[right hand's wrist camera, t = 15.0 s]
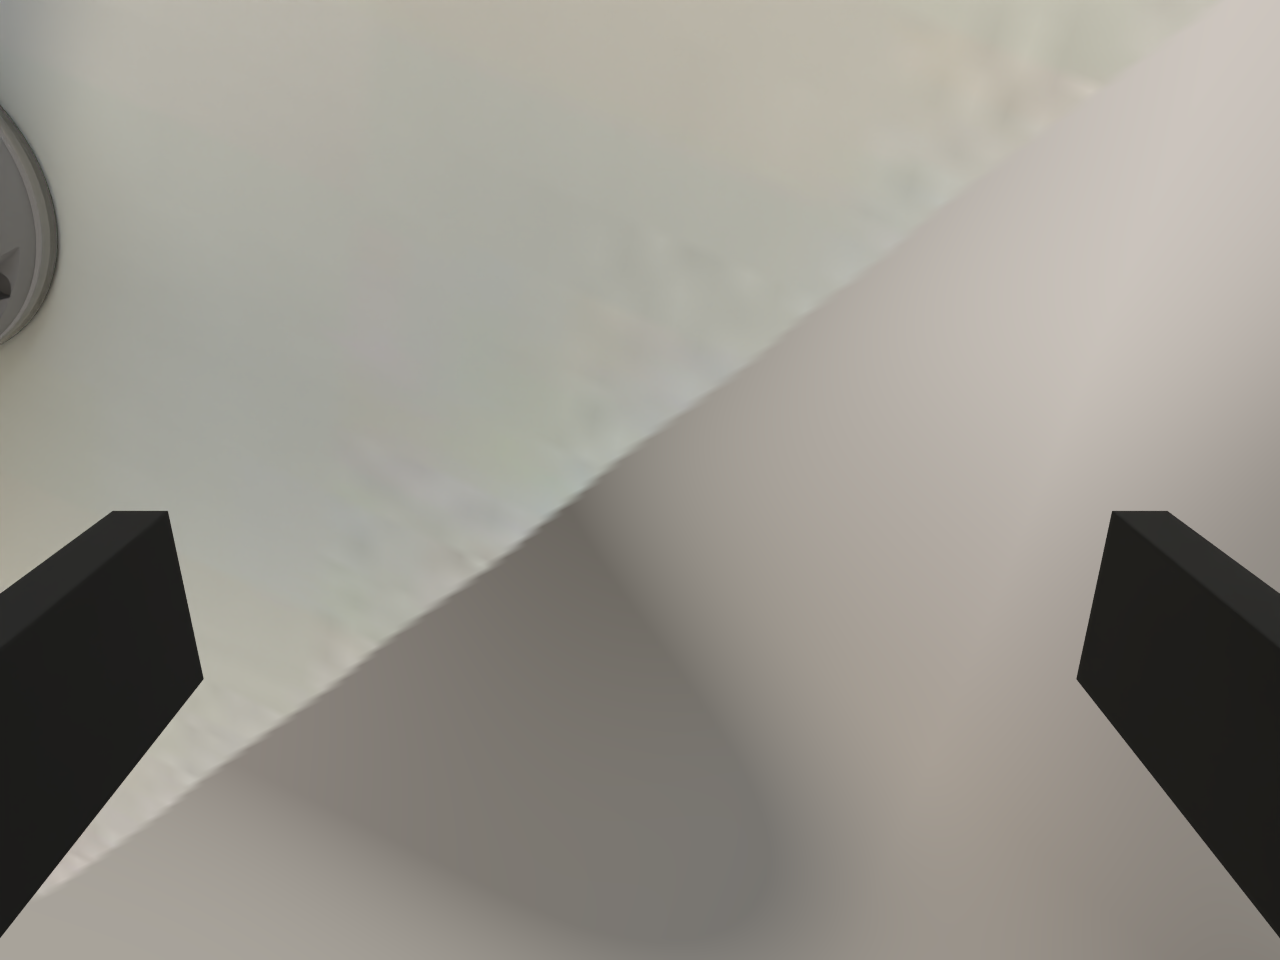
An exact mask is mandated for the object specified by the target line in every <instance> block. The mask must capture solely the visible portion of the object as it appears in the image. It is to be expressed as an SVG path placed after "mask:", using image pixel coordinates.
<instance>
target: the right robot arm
mask: <svg viewBox="0 0 1280 960" xmlns="http://www.w3.org/2000/svg"><path fill="white" fill-rule="evenodd" d="M56 256H57V227H56V219H55V212H54V208H53V203H52V199H51V195H50V192H49V189H48V186H47V183H46V180H45V178H44V175H43V173H42V170H41V168H40V165H39V163H38V161H37V159H36V157H35V155H34V154H33V152H32V150H31V148H30V146H29V145H28V143H27V141H26V140H25V138H24V136H23V135H22V133H21V132H20V130H19V129H18V128H17V126H16V125H15V123H14V122H13V121H12V119H11V118H10V117H9V116H8V114H7V113H6V112H5V111H4V110H3V108H2V107H1V106H0V345H1V344H2V343H4V342H6V341H7V340H9V339H10V338H12V337H13V336H14V335H16V334H17V333H18V332H19V331H21V330H22V329H23V328H24V327H25V326H26V325H27V324H28V323H29V322H30V320H31V319H32V318H33V316H34V315H35V314H36V313H37V311H38V310H39V308H40V306H41V304H42V303H43V301H44V299H45V297H46V295H47V292H48V290H49V288H50V284H51V281H52V278H53V275H54V269H55V264H56ZM202 680H203V674H202V669H201V665H200V660H199V655H198V651H197V646H196V641H195V637H194V632H193V627H192V622H191V618H190V613H189V608H188V604H187V599H186V594H185V590H184V585H183V580H182V575H181V571H180V566H179V561H178V557H177V552H176V547H175V543H174V538H173V533H172V528H171V524H170V519H169V514H168V511H112V512H111V513H109V514H108V515H107V516H105V517H104V518H103V519H101V520H100V521H98V522H97V523H96V524H94V525H93V526H92V527H90V528H89V529H88V530H86V531H85V532H83V533H82V534H81V535H79V536H78V537H77V538H75V539H74V540H73V541H71V542H70V543H69V544H67V545H66V546H64V547H63V548H62V549H60V550H59V551H58V552H56V553H55V554H54V555H52V556H51V557H49V558H48V559H47V560H45V561H44V562H43V563H41V564H40V565H39V566H37V567H36V568H35V569H33V570H32V571H30V572H29V573H28V574H26V575H25V576H24V577H22V578H21V579H20V580H18V581H17V582H15V583H14V584H13V585H11V586H10V587H9V588H7V589H6V590H5V591H3V592H2V593H0V937H1V936H2V935H3V934H4V932H5V931H6V930H7V929H8V927H9V926H10V925H11V924H12V922H13V921H14V920H15V918H16V917H17V916H18V914H19V913H20V912H21V911H22V909H23V908H24V907H25V906H26V904H27V903H28V902H29V901H30V899H31V898H32V897H33V896H34V894H35V893H36V892H37V890H38V889H39V888H40V887H41V885H42V884H43V883H44V882H45V880H46V879H47V878H48V876H49V875H50V874H51V873H52V871H53V870H54V869H55V868H56V866H57V865H58V864H59V862H60V861H61V860H62V859H63V857H64V856H65V855H66V854H67V852H68V851H69V850H70V848H71V847H72V846H73V845H74V843H75V842H76V841H77V840H78V838H79V837H80V836H81V834H82V833H83V832H84V831H85V829H86V828H87V827H88V826H89V824H90V823H91V822H92V820H93V819H94V818H95V817H96V815H97V814H98V813H99V811H100V810H101V809H102V808H103V806H104V805H105V804H106V803H107V801H108V800H109V799H110V797H111V796H112V795H113V794H114V792H115V791H116V790H117V789H118V787H119V786H120V785H121V783H122V782H123V781H124V780H125V778H126V777H127V776H128V775H129V773H130V772H131V771H132V769H133V768H134V767H135V766H136V764H137V763H138V762H139V761H140V759H141V758H142V757H143V755H144V754H145V753H146V752H147V750H148V749H149V748H150V747H151V745H152V744H153V743H154V741H155V740H156V739H157V738H158V736H159V735H160V734H161V733H162V731H163V730H164V729H165V727H166V726H167V725H168V724H169V722H170V721H171V720H172V719H173V717H174V716H175V715H176V713H177V712H178V711H179V710H180V708H181V707H182V706H183V705H184V703H185V702H186V701H187V699H188V698H189V697H190V696H191V694H192V693H193V692H194V691H195V689H196V688H197V687H198V685H199V684H200V683H201V682H202ZM1077 680H1078V682H1079V683H1080V684H1081V685H1082V687H1083V688H1084V689H1085V691H1086V692H1087V693H1088V694H1089V696H1090V697H1091V698H1092V699H1093V701H1094V702H1095V703H1096V704H1097V706H1098V707H1099V708H1100V710H1101V711H1102V712H1103V713H1104V715H1105V716H1106V717H1107V719H1108V720H1109V721H1110V722H1111V724H1112V725H1113V726H1114V727H1115V729H1116V730H1117V731H1118V733H1119V734H1120V735H1121V736H1122V738H1123V739H1124V740H1125V741H1126V743H1127V744H1128V745H1129V747H1130V748H1131V749H1132V750H1133V752H1134V753H1135V754H1136V755H1137V757H1138V758H1139V759H1140V761H1141V762H1142V763H1143V764H1144V766H1145V767H1146V768H1147V769H1148V771H1149V772H1150V773H1151V775H1152V776H1153V777H1154V778H1155V780H1156V781H1157V782H1158V783H1159V785H1160V786H1161V787H1162V788H1163V790H1164V791H1165V792H1166V794H1167V795H1168V796H1169V797H1170V799H1171V800H1172V801H1173V803H1174V804H1175V805H1176V806H1177V808H1178V809H1179V810H1180V812H1181V813H1182V814H1183V815H1184V817H1185V818H1186V819H1187V820H1188V822H1189V823H1190V824H1191V826H1192V827H1193V828H1194V829H1195V831H1196V832H1197V833H1198V834H1199V836H1200V837H1201V838H1202V839H1203V841H1204V842H1205V843H1206V845H1207V846H1208V847H1209V848H1210V850H1211V851H1212V852H1213V854H1214V855H1215V856H1216V857H1217V859H1218V860H1219V861H1220V862H1221V864H1222V865H1223V866H1224V867H1225V869H1226V870H1227V871H1228V872H1229V874H1230V875H1231V876H1232V878H1233V879H1234V880H1235V882H1236V883H1237V884H1238V885H1239V887H1240V888H1241V889H1242V890H1243V892H1244V893H1245V894H1246V895H1247V897H1248V898H1249V899H1250V901H1251V902H1252V903H1253V904H1254V906H1255V907H1256V908H1257V910H1258V911H1259V912H1260V913H1261V915H1262V916H1263V917H1264V918H1265V920H1266V921H1267V922H1268V924H1269V925H1270V926H1271V927H1272V929H1273V930H1274V931H1275V932H1276V934H1277V935H1278V936H1279V938H1280V593H1278V592H1277V591H1275V590H1274V589H1273V588H1271V587H1270V586H1269V585H1267V584H1266V583H1264V582H1263V581H1262V580H1260V579H1259V578H1258V577H1256V576H1255V575H1254V574H1252V573H1251V572H1250V571H1248V570H1247V569H1245V568H1244V567H1243V566H1241V565H1240V564H1239V563H1237V562H1236V561H1235V560H1233V559H1232V558H1230V557H1229V556H1228V555H1226V554H1225V553H1224V552H1222V551H1221V550H1220V549H1218V548H1217V547H1216V546H1214V545H1213V544H1211V543H1210V542H1209V541H1207V540H1206V539H1205V538H1203V537H1202V536H1201V535H1199V534H1198V533H1197V532H1195V531H1194V530H1192V529H1191V528H1190V527H1188V526H1187V525H1186V524H1184V523H1183V522H1182V521H1180V520H1179V519H1177V518H1176V517H1175V516H1173V515H1172V514H1171V513H1169V512H1168V511H1112V514H1111V519H1110V524H1109V528H1108V533H1107V538H1106V543H1105V547H1104V552H1103V557H1102V561H1101V566H1100V571H1099V575H1098V580H1097V585H1096V590H1095V594H1094V599H1093V604H1092V608H1091V613H1090V618H1089V623H1088V627H1087V632H1086V636H1085V641H1084V646H1083V651H1082V655H1081V660H1080V665H1079V669H1078V674H1077Z"/></svg>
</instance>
